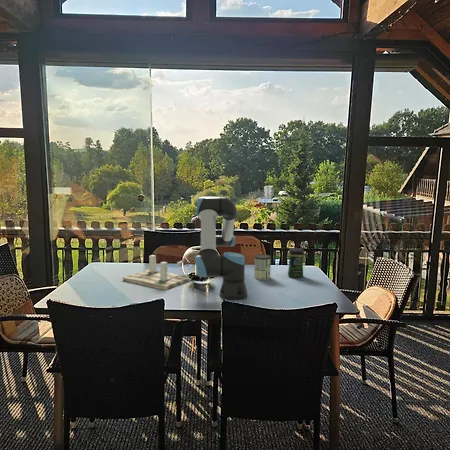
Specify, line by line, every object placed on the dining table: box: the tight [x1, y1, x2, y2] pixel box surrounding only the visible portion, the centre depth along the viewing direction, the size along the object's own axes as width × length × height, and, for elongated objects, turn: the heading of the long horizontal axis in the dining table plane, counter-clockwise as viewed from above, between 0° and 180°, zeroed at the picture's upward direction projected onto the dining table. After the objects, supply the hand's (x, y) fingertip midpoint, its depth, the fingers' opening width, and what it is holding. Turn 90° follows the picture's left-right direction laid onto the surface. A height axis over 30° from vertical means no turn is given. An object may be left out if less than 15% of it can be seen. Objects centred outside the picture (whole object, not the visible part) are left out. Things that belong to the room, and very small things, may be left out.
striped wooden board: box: [122, 269, 190, 291], centre depth 246 cm, size 24×34×2 cm
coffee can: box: [253, 253, 272, 281], centre depth 253 cm, size 10×10×14 cm
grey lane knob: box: [148, 254, 159, 274], centre depth 254 cm, size 5×4×11 cm
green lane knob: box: [159, 261, 169, 282], centre depth 236 cm, size 5×4×11 cm
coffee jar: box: [287, 247, 305, 279], centre depth 257 cm, size 10×8×19 cm
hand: (178, 264), depth 248 cm, fingers closed
